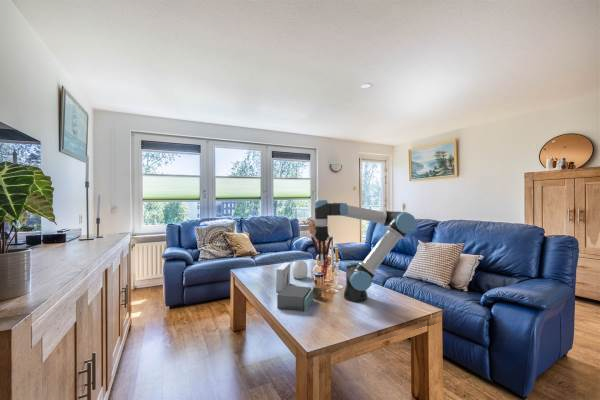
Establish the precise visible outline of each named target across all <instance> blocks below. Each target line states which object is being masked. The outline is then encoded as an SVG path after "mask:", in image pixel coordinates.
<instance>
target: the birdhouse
mask: <svg viewBox="0 0 600 400" xmlns="http://www.w3.org/2000/svg"><path fill="white" fill-rule="evenodd" d="M313 301H314V299H313V288H311V290H310V291H309V293H308V294H307V296H306V297H305V299H304V311H303V312H307V310H308V309H309V307H310V306H311V304H312V302H313Z"/></svg>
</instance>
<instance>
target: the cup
mask: <svg viewBox="0 0 600 400" xmlns="http://www.w3.org/2000/svg"><path fill="white" fill-rule="evenodd" d="M308 270H309V268H308V264H307V262H306V261H305V260H300V259H298V260H294V261H293V264H292V266H291V276H292V277H293V278H295V279H297V280H303V279H305V278H307V276H308V272H309V271H308Z"/></svg>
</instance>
